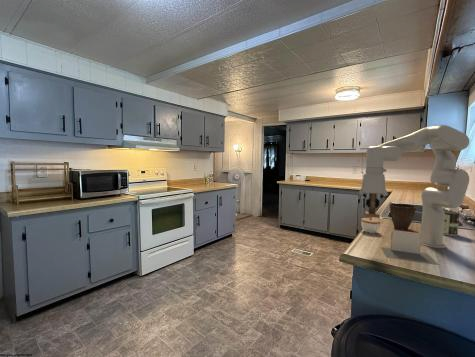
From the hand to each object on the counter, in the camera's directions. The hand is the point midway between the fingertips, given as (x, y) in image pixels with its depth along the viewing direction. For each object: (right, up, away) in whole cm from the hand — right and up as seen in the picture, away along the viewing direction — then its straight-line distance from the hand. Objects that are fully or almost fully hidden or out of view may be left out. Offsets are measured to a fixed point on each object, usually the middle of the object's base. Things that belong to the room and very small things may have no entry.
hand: (372, 206), depth 120 cm
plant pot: (+43, -20, +40) cm, 62 cm away
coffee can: (+66, -21, +31) cm, 76 cm away
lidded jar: (+16, -20, +31) cm, 41 cm away
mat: (+13, -23, -7) cm, 27 cm away
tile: (+15, -22, -2) cm, 27 cm away
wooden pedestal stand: (0, -5, 0) cm, 5 cm away
